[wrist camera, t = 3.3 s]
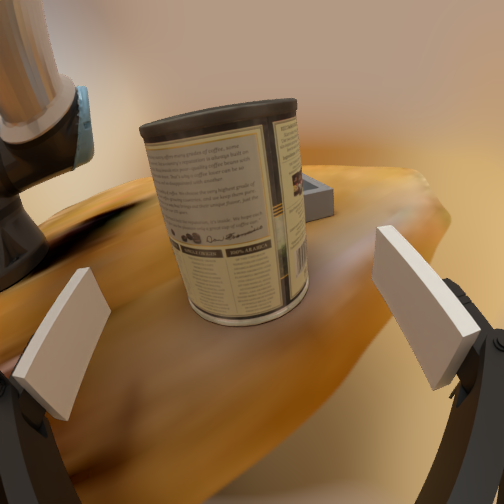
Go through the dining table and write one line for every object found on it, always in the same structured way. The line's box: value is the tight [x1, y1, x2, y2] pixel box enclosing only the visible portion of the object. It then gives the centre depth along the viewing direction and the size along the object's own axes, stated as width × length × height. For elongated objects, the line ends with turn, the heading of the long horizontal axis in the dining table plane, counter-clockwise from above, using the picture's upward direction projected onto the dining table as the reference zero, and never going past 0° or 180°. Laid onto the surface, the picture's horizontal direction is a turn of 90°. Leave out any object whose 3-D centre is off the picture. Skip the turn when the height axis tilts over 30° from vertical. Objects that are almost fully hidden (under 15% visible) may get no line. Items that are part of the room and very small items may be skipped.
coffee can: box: [139, 98, 309, 326], centre depth 20 cm, size 10×10×14 cm
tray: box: [302, 173, 334, 222], centre depth 38 cm, size 18×18×3 cm
